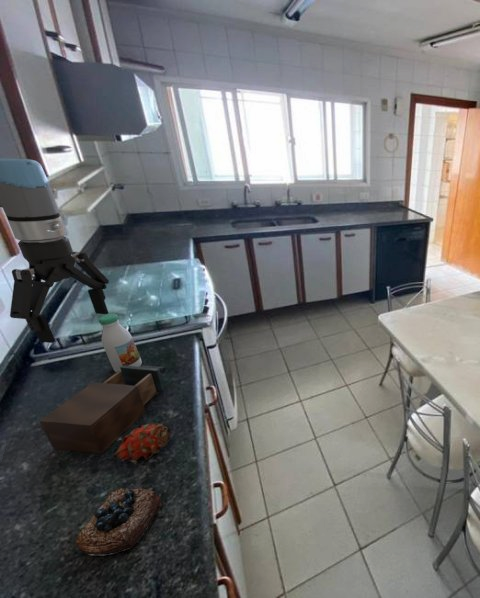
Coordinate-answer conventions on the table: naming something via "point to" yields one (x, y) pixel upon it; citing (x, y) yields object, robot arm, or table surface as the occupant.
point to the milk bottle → (118, 343)
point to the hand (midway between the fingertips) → (77, 326)
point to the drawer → (140, 379)
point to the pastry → (119, 521)
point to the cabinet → (93, 417)
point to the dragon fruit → (143, 442)
